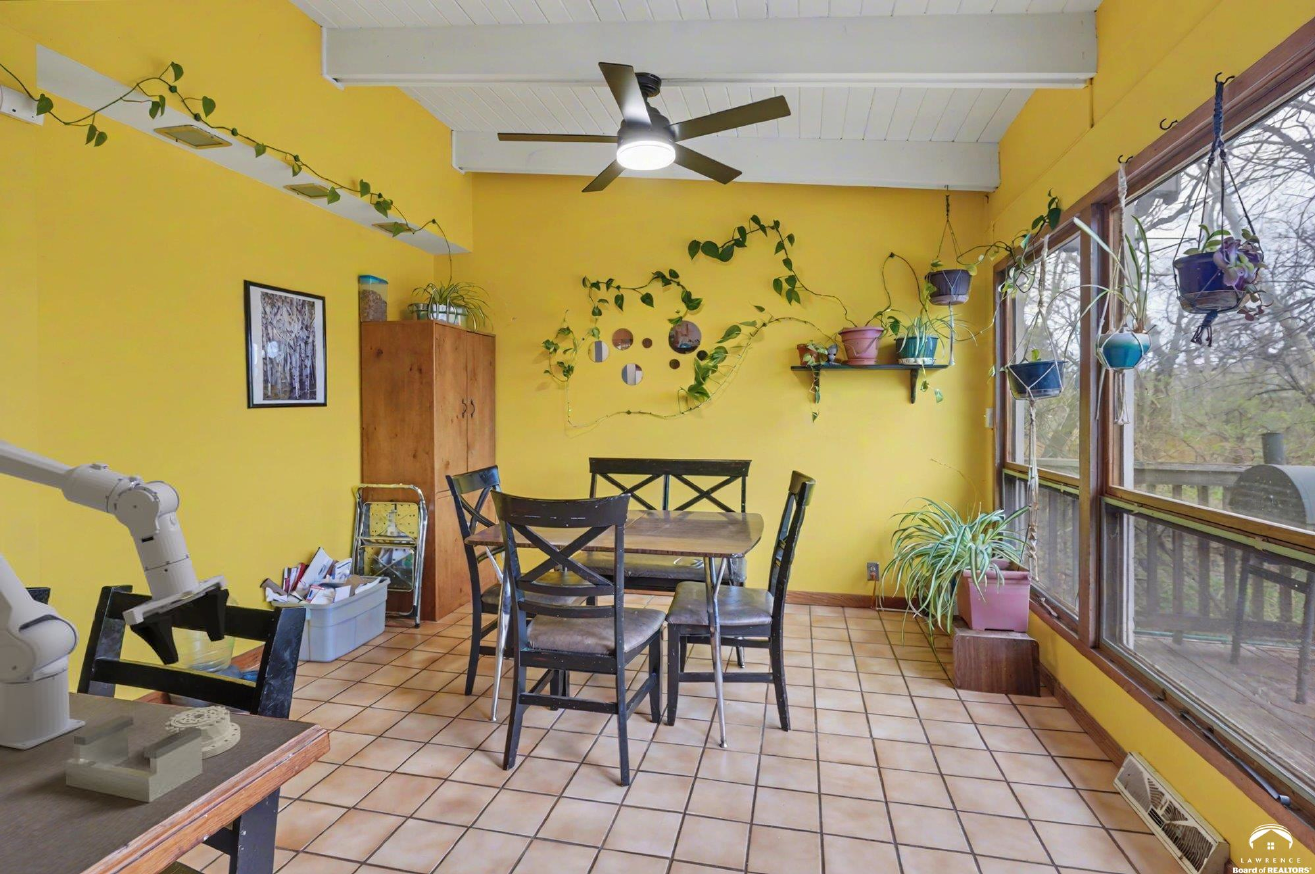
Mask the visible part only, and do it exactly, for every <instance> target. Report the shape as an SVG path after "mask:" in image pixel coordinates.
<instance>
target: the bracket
mask: <svg viewBox="0 0 1315 874" xmlns="http://www.w3.org/2000/svg"><path fill="white" fill-rule="evenodd" d="M131 726H134V717H133V716H130V715H129V716H128V715H119V716H116V717H114V718H112V719H110V720H107V721H104V722H103V723H100V724H98V725H96V726H93V727H91V728H88V729H86V730H84V731H82V732H79V733H76V734H74V735H72V736H73V739H72V740H73V757H72V758H70V759H68V760H66V761H65V762H64V763H65V764H64V765H65V786H69V787H74V788H78V789H83V790H88V791H92V792H97V793H103V794H105V795H106V794H107V795H113V796H115V797H116V796H117V797H121V798H126V799H130V800H135V801H140V802H145V803H151V802H153V801H155V800H157V799H159V798H160V797H162V796H164V795H166V794H167V793H169V792H171V791H172V790H174V789H176V788H178V787H180V786H182V785H184V784H185V783H187V782H189V781H190V780H192V779H194V778H196V777H197V776H199V775H201V774H203V759H202V735H201V729H200V728H194V727H187V728H185V729H183V730H181V731H179V732H177V733H175V734H173V735H171V736H169V737H167V738H165V739H163V740H160V739H159V740H160V741H159V740H158V741H157V742H155V743H153V744H151V745H148V746H146V747H144V748H143V757H144V758H147V759H148V758H149V759H150V760H149V761H150V762H149V764H150V768H149V770H150V772H149V771H145V770H139V769H135V768H130V767H124V766H120V765H119V764H121V763H123V762H125V761H127V760H128V759H130V758H129V727H131Z"/></svg>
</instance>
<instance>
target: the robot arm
mask: <svg viewBox="0 0 1315 874" xmlns="http://www.w3.org/2000/svg"><path fill="white" fill-rule="evenodd" d="M108 468H109V464H107V463H103V462H101V461H98V462H93V463H88V462H87V463H83V464H80V465H77V466H75V467H74V466H71V465H68V464H66V463H62V462H60V461H57V460H55V459H52V458H50V457H47V456H45V455H41V454H39V453H36V452H33V451H30V450H28V449H25V448H23V447H20V446H16V445H15V444H12V443H10V442H8V441H7V440H4V439H0V474H3V475H7V476H11V477H15V478H18V479H22V480H25V481H28V482H33V483H37V484H40V485H45V486H49V487H52V488H56V489H60V490H61V492H62V494H63V497H64V499H66V500H67V501H69V502H71V503H75V504H78V505H81V506H84V507H87V508H91V509H94V510H96V511H100V512H103V513H107V514H109V515H112V516H114V517H115V519H116V520H117V521H118V522H119V523H120V524H122V525H124V526H125V527H126V528H127V529H128V531H129V534H130V536H131V537H132V540H133V543H134V546H135V549H136V552H137V555H138V559H139V560H140V564H141V568H142V570H143V573H144V576H145V579H146V582H147V586H148V588H149V591H150V595H151V599H150V600H148V601H145V602H143V603H142V604H139V605H137V606H135V607H133V608H131V609H128V610H126V611H123V612H122V615H123V619H124V621H125V624H126V626H129V629H130V631H131V632H132V633H134V634H136V635H137V636H138V637H140V638H141V639H142V640H143V641H144V642H145V643H147V645H148V646H150V648H151V649H152V650H153V651H154V653H155V654H156V655H157V656H158V658H159V659H160V661H161V662H162V664H163V665H164V666H168V665H169V666H170V665H174V664H177V663H178V662H180V659H179V658H180V657H179V653H178V650H177V646H176V643H175V640H174V636H173V635H174V634H173V624H172V623H173V616H172V615H170V614H169V615H165V616H164V615H163V614H162V613H164V612H166V611H169V610H170V609H171V610H172V609H174V608H176V607H179V606H181V605H183V604H186V603H188V602H190V603H191V605H192V606H193V607H194V608H195V610H196V612H197V613H198V615H199V617H200V619H201V621H202V623H203V626H204V629H205V632H206V634H207V637H208V639H209V640H210V642H212V643H213V642H218V641H219V642H220V641H223V640H224V639H225V616H226V615H225V614H226V608H227V603H228V601H229V597H230V591H229V588H226V587H228V582H227V581H226V577H225V575H224V574H219V575H216V576H212V577H210V578H207V579H203V580H201V581H198V578H197V574H196V572H195V568H194V566H193V565H194V564H193V561H192V559H191V555H190V553H189V549H188V547H187V542H186V540H185V537H184V534H183V530H182V528H181V525H180V521H179V519H178V515H177V513H176V512H177V511H178V509H179V507H180V503H181V502H180V500H181V499H180V495H179V493H178V491H177V490H176V488H175V487H174V486H172V485H171V484H168V483H167V482H165V481H164V480H162V479H161V480H159V479H158V480H157V479H155V480H151V481H148V482H145V481H144V480H143V477H142V476H140V475H138V474H133V475H131V476H130V475H126V474H125V473H121V472H119V471H118V472H117V471H114V470H113V469H112V470H111V469H108ZM223 588H224V589H223ZM175 601H176V602H175ZM79 640H80V634H79V630H78V628H77V627H76V626H75V624H74V623H73V622H71V620H68V619H66V618H65V617H63V616H61V615H60V614H59V612H58V611H57V610H56V608H55V607H54V606H52V605H50V604H45V603H43V602H40V601H37V600H35V599H33V597H32V596H31V594H30V593H29V591H28V590H27V588H26V587H25V586H24V584H23V583H22V581H21V580H20V578H19V577H18V575H17V574H16V573H15V571H14V569H13V568H12V566H10V563H9V562H8V561H7V560H6V558H5V556H4V555H3V554H2V552H1V551H0V746H3V747H9V748H15V749H20V750H28V749H30V748H33V747H35V746H37V745H40V744H43V743H45V742H47V741H50V740H52V739H55V738H57V737H60V736H61V735H64V734H66V733H67V734H68V733H69V732H71V731H74V730H77V729H79V728H81V727H84V726H85V725H86V721H85V720H79V719H73V718H70V695H69V694H70V691H69V690H70V689H69V688H70V687H69V686H70V685H69V663H70V655H71V654H72V653H73V652H74V651H75V650H76V649H77V647H78V645H79V642H80V641H79Z"/></svg>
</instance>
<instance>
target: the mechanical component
mask: <svg viewBox="0 0 1315 874" xmlns="http://www.w3.org/2000/svg"><path fill="white" fill-rule="evenodd" d="M230 712H231V711H230V710H228V709H226V706H220V705H218V706H215V705H211V706H207V707H196V708H194V709H191V710H187V711H186V710H185V711H181V712H180V713H178V714H177V713H176V714H174V716H171V717H169V720H168V721H167V722H166V723H165V724H164V736H162V737H161V738H159V739H158V741H160V740H163V739H165V738H167V737H169V736H171V735H173V734H175V733H177V732H179V731H181V730H183V729H185V728H187V727H194V728H200V729H201V735H202V760H205V759H208V758H211V757H214V756H217V755H220V754H221V753H224V752H226V751H228V750H229V749H232V748H233V747H234V746H236V744H238V743H239V741H240V740H241V727H240V726H239V724H237V723H235V722H231V717H230V716H231V714H230Z"/></svg>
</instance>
